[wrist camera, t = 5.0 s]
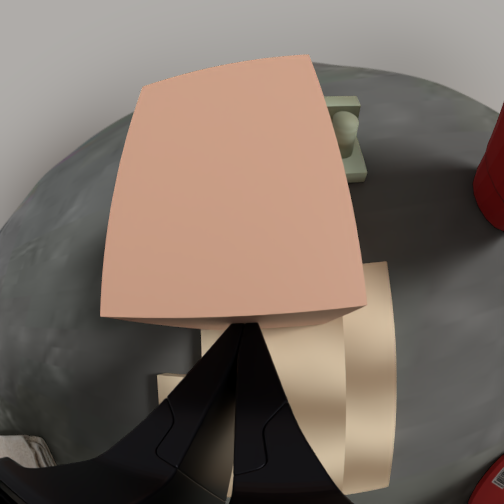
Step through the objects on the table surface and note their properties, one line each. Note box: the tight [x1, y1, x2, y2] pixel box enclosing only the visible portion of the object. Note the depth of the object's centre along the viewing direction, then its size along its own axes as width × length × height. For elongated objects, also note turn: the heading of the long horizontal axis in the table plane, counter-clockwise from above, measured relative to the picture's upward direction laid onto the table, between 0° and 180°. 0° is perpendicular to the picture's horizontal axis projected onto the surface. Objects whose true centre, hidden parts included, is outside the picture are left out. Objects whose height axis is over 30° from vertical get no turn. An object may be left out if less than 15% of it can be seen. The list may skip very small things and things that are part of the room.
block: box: [100, 55, 367, 330], centre depth 11 cm, size 8×6×10 cm
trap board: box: [157, 96, 396, 497], centre depth 14 cm, size 25×14×4 cm, turn 2°
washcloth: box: [0, 435, 57, 468], centre depth 13 cm, size 12×18×3 cm, turn 116°
